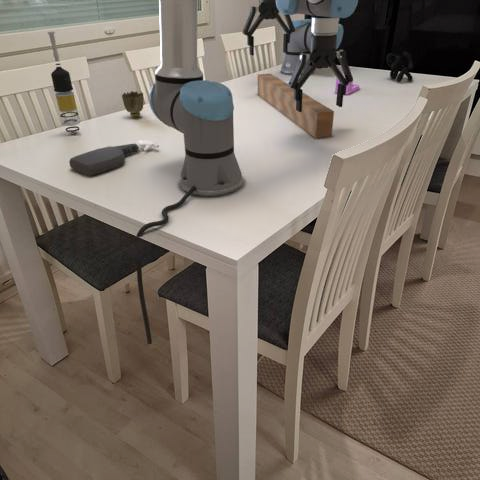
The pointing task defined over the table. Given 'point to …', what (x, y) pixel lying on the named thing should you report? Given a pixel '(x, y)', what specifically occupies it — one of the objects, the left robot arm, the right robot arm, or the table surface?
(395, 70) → the squiggle
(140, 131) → the table surface
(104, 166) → the spray bottle
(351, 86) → the bracket
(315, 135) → the bar
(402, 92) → the table surface
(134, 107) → the cup
